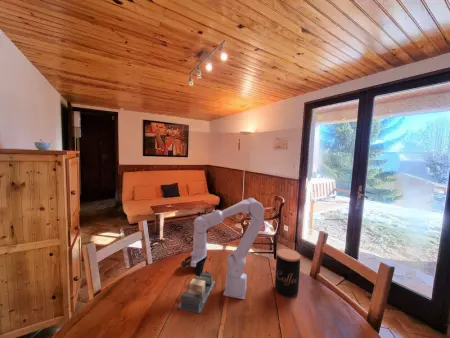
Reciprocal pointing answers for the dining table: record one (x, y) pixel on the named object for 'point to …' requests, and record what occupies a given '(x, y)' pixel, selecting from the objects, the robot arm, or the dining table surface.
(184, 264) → the pottery mug
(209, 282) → the jaw
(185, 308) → the vise
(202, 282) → the block
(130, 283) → the dining table surface
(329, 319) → the dining table surface
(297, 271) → the coffee jar
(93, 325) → the dining table surface
